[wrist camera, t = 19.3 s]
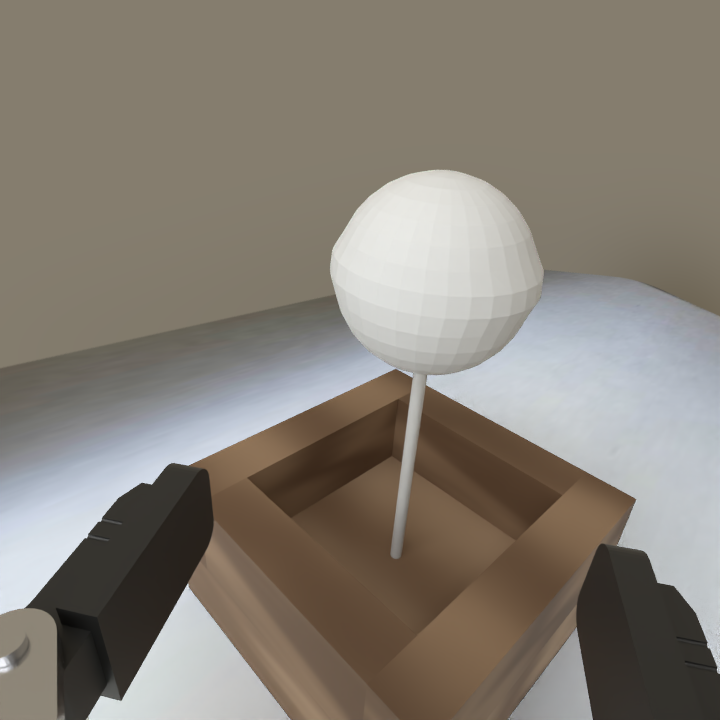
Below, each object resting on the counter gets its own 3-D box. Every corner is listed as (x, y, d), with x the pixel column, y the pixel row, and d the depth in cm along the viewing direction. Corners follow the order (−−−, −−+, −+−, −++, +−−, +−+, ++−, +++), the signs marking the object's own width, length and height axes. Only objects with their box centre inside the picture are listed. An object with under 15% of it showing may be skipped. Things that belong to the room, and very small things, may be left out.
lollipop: (292, 579, 20) (290, 172, 13) (357, 484, 25) (383, 145, 18) (447, 650, 18) (551, 214, 11) (487, 532, 23) (578, 171, 16)
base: (385, 464, 31) (395, 368, 28) (590, 608, 24) (636, 499, 20) (188, 587, 23) (171, 473, 20) (400, 861, 16) (426, 748, 13)
